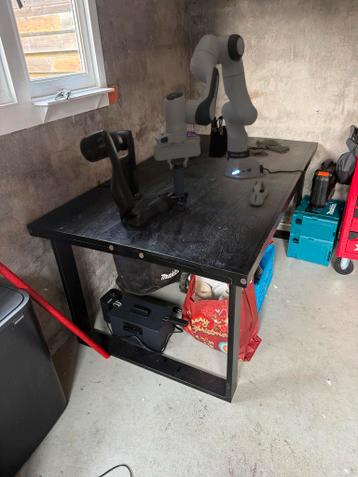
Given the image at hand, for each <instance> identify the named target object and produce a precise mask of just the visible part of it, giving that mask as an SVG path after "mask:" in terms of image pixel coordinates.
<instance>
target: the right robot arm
mask: <svg viewBox="0 0 358 477" xmlns="http://www.w3.org/2000/svg"><path fill="white" fill-rule="evenodd" d="M245 45H246V44H245V40H244V39H243V37H242V36H241V35H240V34H238V33H231V34H226V35H220V36H219V35H218V37H217V36H216V35H215V34H211V33H207V34H205V35H203V36H202V37H201V39H199V41H198V43H197V45H196V47H195V49H194V51H193V54H192V56H191V59H190V64H189V70H190V72H191V74H192V76H193V77H194V78H195V80H197V81H199V82H201V83H204V84H205V85H206V89H205V94H204V97H203V98H202V99H188V98H186V97H185V94H183V93H182V92H172V93H169V94H166V96H165V97H164V102H163V103H164V104H163V113H164V114H163V116H164V121H165V128H164V129H165V131H163V132H161V133H159V134H157V135H155V136H154V140H155V143H154V144H153V159H154V160H155V161H156V162H161V161H166V162H167V163H168V165H169V170H175V169H174V165H173V163H171V162H172V160H177V159H184V160H183V168H182V169H184V168H187V163H188V162H189V158H191V157H192V158H193V157H199V156H200V155H201V153H202V152H201V145H200V144H199V143H200V139H201V136H200V135H199V134H198V133H197V134H198V135H197V134H188V135H187V131H188V128H187V125H197V126H202V127H208V126H209V125H211V124H210V123H211V122H212V121H213V120H214V118H215V116H216V109H217V108H216V106H217V104H216V103H217V98H218V91H219V85H220V71H219V69H218V67H217V65H220V67H221V68H220V70H221V77H222V84H223V89H224V94H225V96H226V97H227V98H228V101H226V102H224V104H223V105H222V107H221V110H220V114H221V116H223V118H224V119H223V122H224V124H225V125H224V126H226V129H227V136H228V148H227V152H226V154H225V159H226V165H225V169H224V172H223V174H224V176H225V177H228V178H232V179H233V178H234V179H237V180H243V179H250V178H258V177H259V178H260V177H263V176H264V175H265V172H264V170H265V171H267V172H268V173H269V174H277V173H298V172H300V173H302V174H305V171H304V170H301V169H297V170H295V169H294V170H277V171H270V169H268V168H265V167H264V165H263V164H260V162H259V161H258V160H257V159H256V158H255V157H254V156H251V155H252V154H253V152H252V151H251V150H249V149H247V147H248V146H249V144H248V142H249V134H248V132H247V130H246V127H249V126H252V125H254V124H255V122H256V121H257V119H258V116H259V114H258V113H259V112H258V110H257V108H256V107H255V105H254V103H253V102H252V99H251V96H250V94H249V91H248V87H247V81H246V72H245V66H244V61H243V56H244V53H245V48H246V47H245Z"/></svg>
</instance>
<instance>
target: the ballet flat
mask: <svg viewBox="0 0 358 477" xmlns="http://www.w3.org/2000/svg"><path fill="white" fill-rule="evenodd" d="M268 194H269V189H268V186H267V183H266V182H265V181H264V180H262V179H257V180H255V181H254V182H253V184H252V187H251V190H250V196H249V204H250V205H251V206H252V207H260V206H261V205H263V203H264V201H265V198H266V196H267V195H268Z"/></svg>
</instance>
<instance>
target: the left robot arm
mask: <svg viewBox="0 0 358 477" xmlns="http://www.w3.org/2000/svg"><path fill="white" fill-rule="evenodd" d="M79 150H80V154H81V155H82V157H83V158H84V159H85V160H86V161H87V162H90V163H97V162H99V161H102V160H105V159H109V161H110V165H111V176H110V177H111V178H110V179H111V180H110V184H100V180H99V181H98V180H97V184H98V186H99V187H110V193H111V197H112V199H113V200H114V203H115V205H116V207H117V209H118V215H119V220H120V223H121V226H122V227H123V229H124V230H126V231H127V232H144V231H145V230H147V229H148V228H149V227H150V226H151V225H152V223H153V222H155V221H156V220H158V219H160V218H162V217H164V216H166V214H168V213H170V212H171V211H172V210H173V209H174V208H175V206H176V205H178V204H179V205H181V206H184V205H185V206H186V203H187V202H188V198H189V193H188V191H187V192H186V191H185V192H184V194H183V195H180V196H179V195H177V196H175V193H174V191H173V192H172V191H171V192H169V191H167V192H164V193H162V194H159V195H157V198H156V199H154V200H152V201H151V202H150V203H149V204H147V205H144V206H143V207H142V208H141V209H140V211H139V212H137V213H133V210H134V209H135V207H136V205H137V204H136V203H137V202H136V200H137V199H139V198H140V197H141V193H140V183H139V174H138V168H137V167H138V166H137V159H136V149H135V136H134V133H133V131H132V130H131V129H123V130H122V129H121V130H113V131H107V130H106V129H101V130H98V131H96V132H93V133H90V134H87V135H86V136H83V138H81V139H80V142H79ZM123 151H124V152H127V153H126V154H124V155H122V156H120V157H119V154H118V153H120V152H123ZM181 197H182V199H180V198H181Z"/></svg>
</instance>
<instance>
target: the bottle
mask: <svg viewBox="0 0 358 477" xmlns="http://www.w3.org/2000/svg"><path fill="white" fill-rule="evenodd" d="M184 176H185V175H184V171H183V168H181V169H173V189H174V190H173V192H174V193H175V196H177V195H179V196H180V195H183V194H184V193H185V179H184ZM180 199H182V197H181V198H180ZM174 208H175V211H180V212H181V211H184V210H186V204H185V205H184V206H181V205H179V204H178V205H176V206H174Z"/></svg>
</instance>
